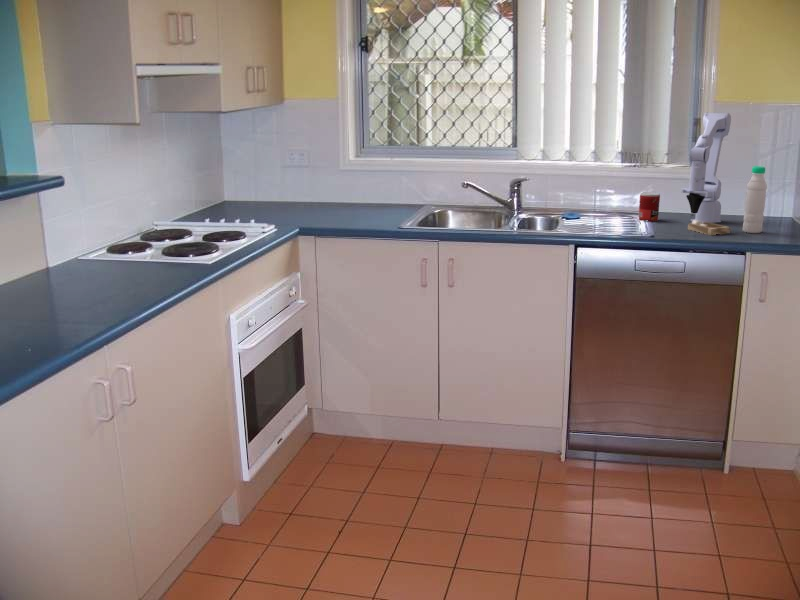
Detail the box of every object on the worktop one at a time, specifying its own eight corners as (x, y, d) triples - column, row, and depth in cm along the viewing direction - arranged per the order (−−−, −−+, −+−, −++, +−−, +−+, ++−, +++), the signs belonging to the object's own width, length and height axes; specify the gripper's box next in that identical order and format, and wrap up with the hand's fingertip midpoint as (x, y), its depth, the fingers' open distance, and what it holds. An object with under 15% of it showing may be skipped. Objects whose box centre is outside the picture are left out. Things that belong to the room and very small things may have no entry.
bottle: (697, 218, 343) (710, 221, 336) (699, 226, 344) (712, 229, 338) (690, 222, 342) (703, 225, 336) (692, 230, 344) (705, 233, 337)
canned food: (653, 222, 358) (655, 195, 356) (635, 220, 363) (637, 193, 360) (660, 219, 364) (663, 193, 362) (642, 217, 369) (644, 191, 366)
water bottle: (763, 234, 333) (770, 168, 327) (743, 233, 335) (750, 167, 328) (759, 230, 340) (766, 166, 334) (740, 230, 341) (747, 165, 335)
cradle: (706, 228, 345) (706, 221, 345) (729, 233, 334) (730, 227, 333) (687, 229, 342) (688, 223, 341) (710, 235, 331) (711, 228, 330)
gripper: (676, 176, 345) (673, 211, 349) (702, 181, 333) (699, 216, 336) (690, 175, 348) (687, 209, 352) (716, 180, 335) (713, 215, 339)
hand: (694, 213), depth 344 cm, fingers closed
